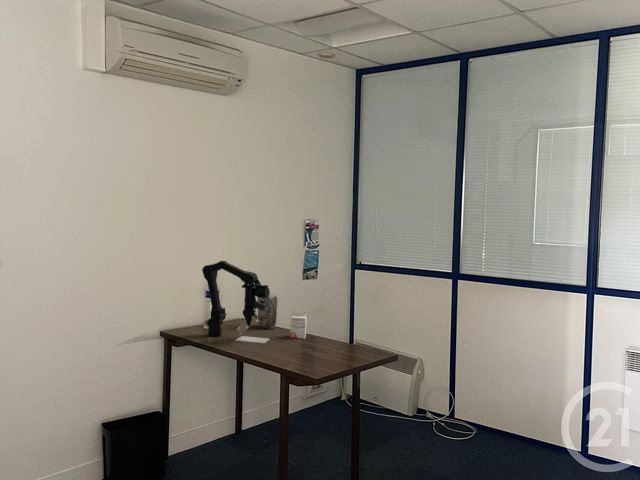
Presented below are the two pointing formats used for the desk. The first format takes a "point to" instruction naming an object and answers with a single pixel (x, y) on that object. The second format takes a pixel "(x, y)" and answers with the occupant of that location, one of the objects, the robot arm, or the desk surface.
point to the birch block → (244, 324)
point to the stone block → (268, 312)
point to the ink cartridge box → (298, 324)
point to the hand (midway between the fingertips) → (249, 325)
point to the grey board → (252, 339)
